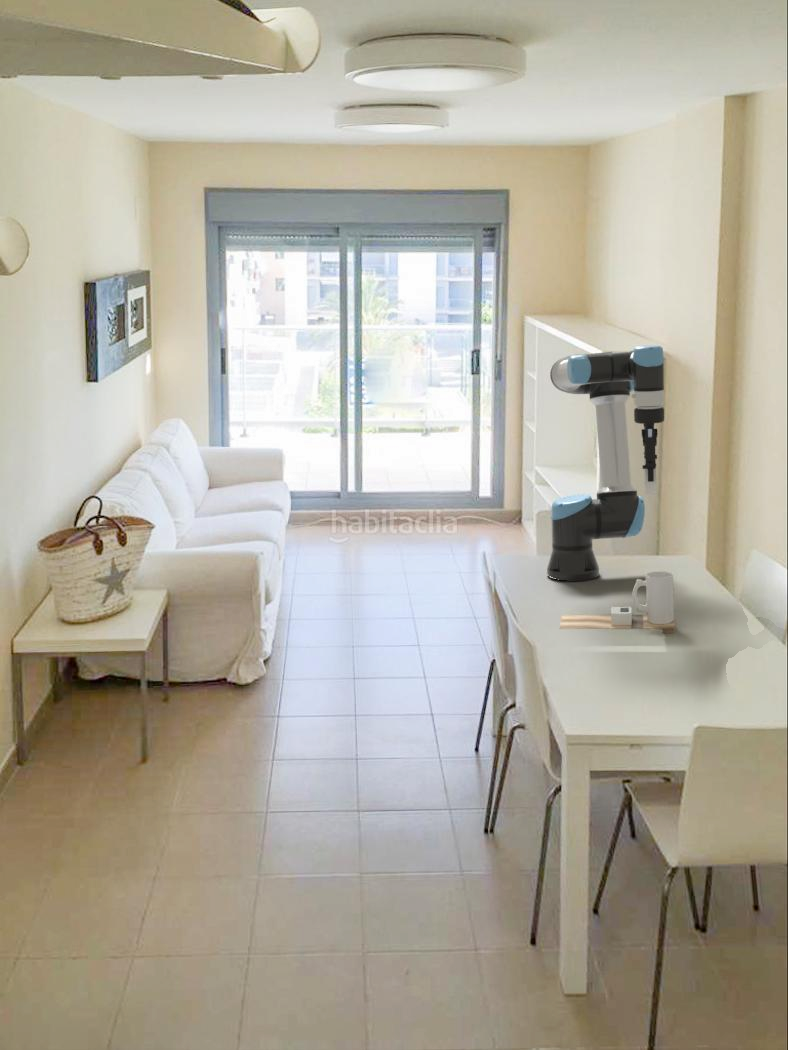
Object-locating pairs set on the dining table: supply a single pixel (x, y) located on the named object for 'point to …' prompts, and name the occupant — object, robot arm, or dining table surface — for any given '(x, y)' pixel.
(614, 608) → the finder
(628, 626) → the board
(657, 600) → the mug
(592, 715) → the dining table surface
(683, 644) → the dining table surface
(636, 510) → the robot arm
